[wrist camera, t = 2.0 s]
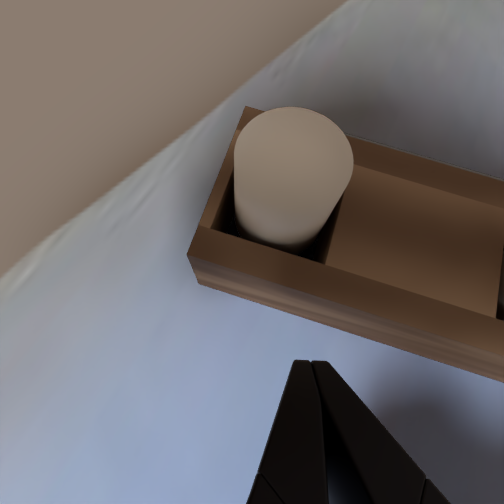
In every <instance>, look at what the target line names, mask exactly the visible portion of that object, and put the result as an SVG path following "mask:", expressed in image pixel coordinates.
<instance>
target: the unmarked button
mask: <svg viewBox="0 0 504 504" xmlns="http://www.w3.org/2000/svg"><path fill="white" fill-rule="evenodd" d="M496 319H499V320H503V321H504V248H503V255H502V264H501V273H500V282H499V291H498V301H497V310H496Z"/></svg>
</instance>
